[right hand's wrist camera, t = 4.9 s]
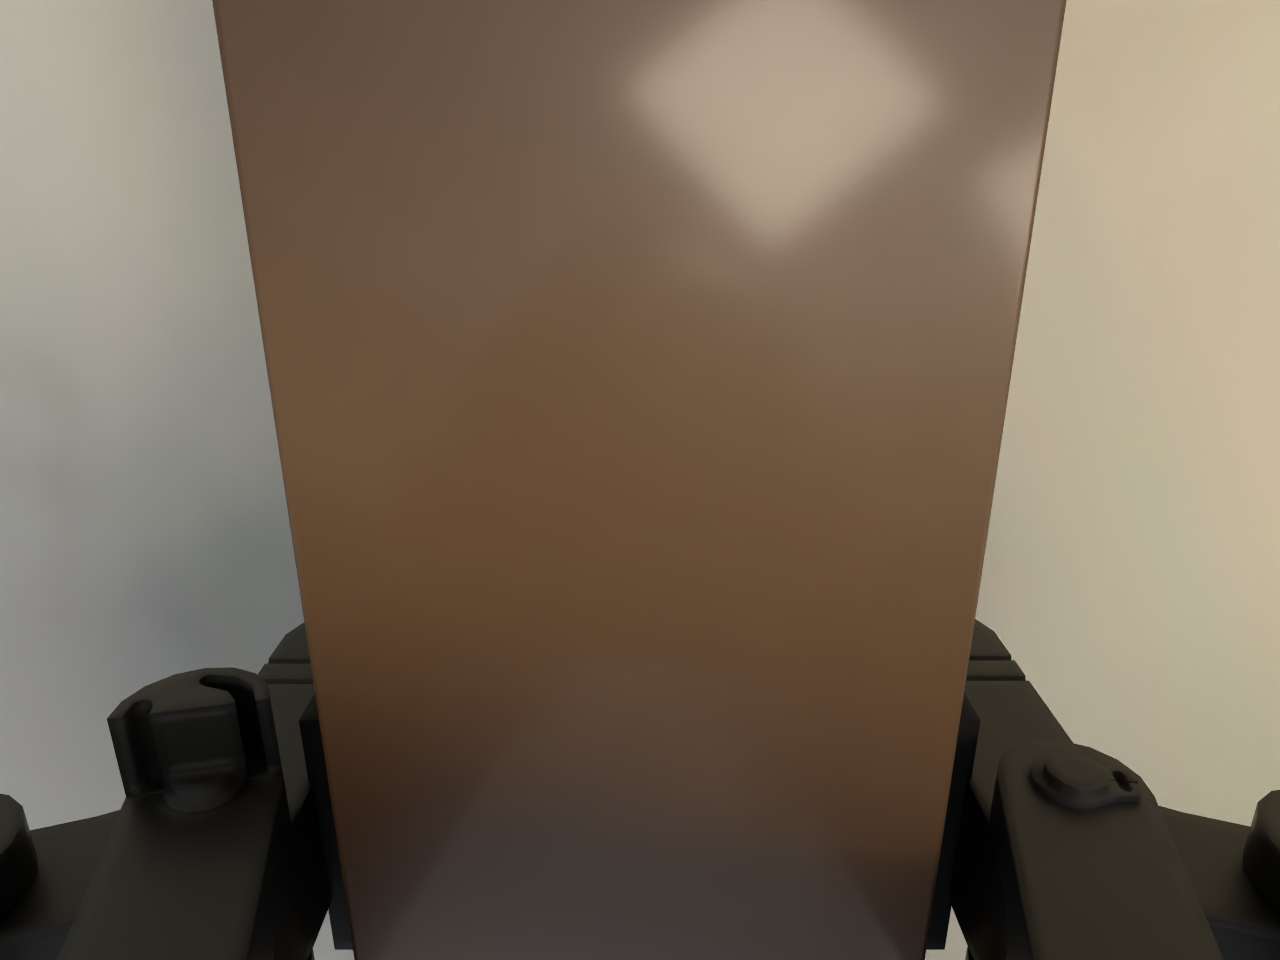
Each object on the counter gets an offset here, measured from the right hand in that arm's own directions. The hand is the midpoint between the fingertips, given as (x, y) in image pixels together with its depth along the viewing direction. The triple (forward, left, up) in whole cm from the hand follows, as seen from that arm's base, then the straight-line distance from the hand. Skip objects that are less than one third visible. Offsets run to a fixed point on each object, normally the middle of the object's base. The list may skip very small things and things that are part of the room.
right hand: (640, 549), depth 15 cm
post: (+7, -23, -1) cm, 24 cm away
